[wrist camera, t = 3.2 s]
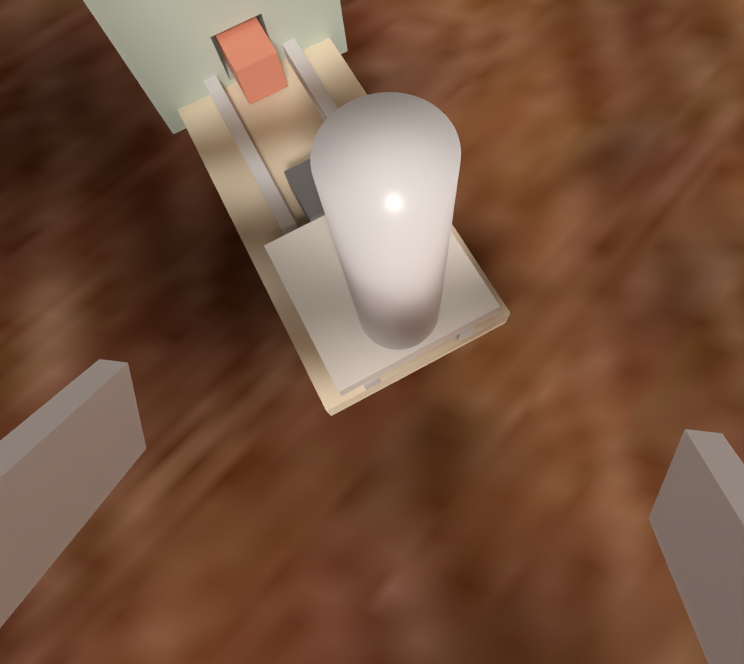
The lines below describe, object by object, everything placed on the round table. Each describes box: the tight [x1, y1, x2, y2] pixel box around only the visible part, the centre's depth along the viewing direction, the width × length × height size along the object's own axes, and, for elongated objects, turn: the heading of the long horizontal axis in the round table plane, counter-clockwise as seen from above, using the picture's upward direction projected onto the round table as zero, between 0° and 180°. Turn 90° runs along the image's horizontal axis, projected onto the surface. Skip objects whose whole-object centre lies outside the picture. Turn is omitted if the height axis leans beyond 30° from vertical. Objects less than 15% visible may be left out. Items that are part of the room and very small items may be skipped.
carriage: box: [264, 92, 500, 396], centre depth 19 cm, size 11×8×12 cm
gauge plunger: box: [214, 17, 288, 104], centre depth 29 cm, size 4×2×2 cm, turn 28°
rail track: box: [178, 38, 510, 416], centre depth 28 cm, size 20×10×2 cm, turn 28°
